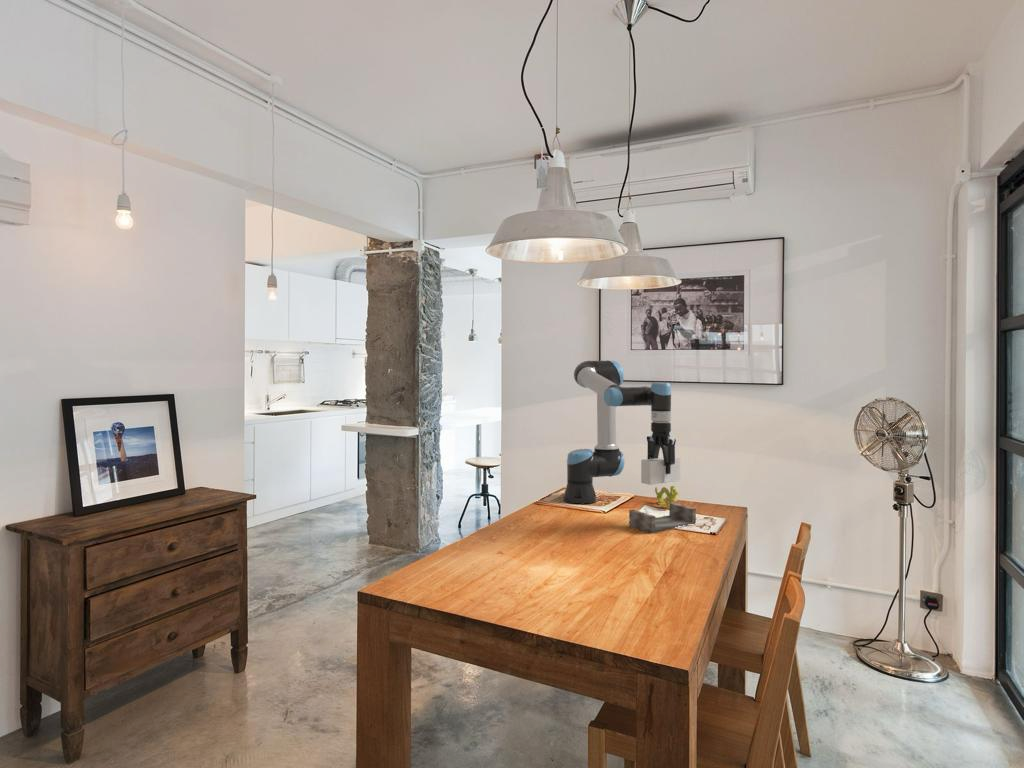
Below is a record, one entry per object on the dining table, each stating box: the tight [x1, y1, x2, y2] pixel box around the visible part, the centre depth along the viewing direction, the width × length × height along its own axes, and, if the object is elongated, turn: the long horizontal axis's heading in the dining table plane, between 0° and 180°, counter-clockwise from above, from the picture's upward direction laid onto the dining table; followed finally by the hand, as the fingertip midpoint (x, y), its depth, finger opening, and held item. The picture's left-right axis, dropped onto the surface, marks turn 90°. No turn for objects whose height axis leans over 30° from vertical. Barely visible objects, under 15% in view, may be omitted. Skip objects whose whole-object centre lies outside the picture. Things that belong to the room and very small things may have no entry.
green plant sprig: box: [654, 485, 679, 510], centre depth 266 cm, size 18×5×10 cm, turn 19°
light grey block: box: [640, 456, 681, 486], centre depth 235 cm, size 5×16×9 cm, turn 121°
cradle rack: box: [628, 502, 697, 534], centre depth 235 cm, size 12×24×6 cm, turn 122°
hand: (660, 480), depth 235 cm, fingers closed on light grey block, 5 cm apart
